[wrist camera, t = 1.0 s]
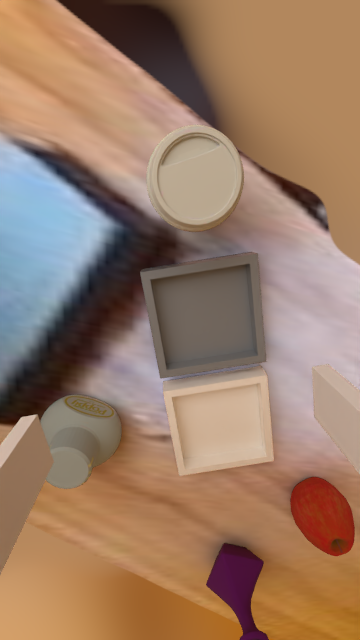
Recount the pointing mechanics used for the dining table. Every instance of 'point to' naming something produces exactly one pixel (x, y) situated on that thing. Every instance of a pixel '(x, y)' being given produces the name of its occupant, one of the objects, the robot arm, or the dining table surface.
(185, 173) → the coffee cup
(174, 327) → the grey square tray
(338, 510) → the apple
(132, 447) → the dining table surface
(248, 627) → the perfume bottle
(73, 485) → the air freshener
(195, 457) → the beige square dish
